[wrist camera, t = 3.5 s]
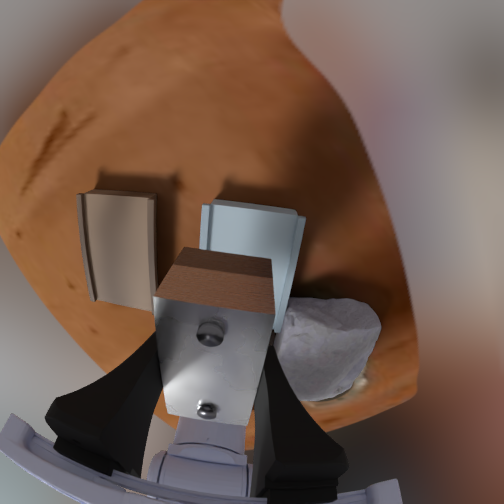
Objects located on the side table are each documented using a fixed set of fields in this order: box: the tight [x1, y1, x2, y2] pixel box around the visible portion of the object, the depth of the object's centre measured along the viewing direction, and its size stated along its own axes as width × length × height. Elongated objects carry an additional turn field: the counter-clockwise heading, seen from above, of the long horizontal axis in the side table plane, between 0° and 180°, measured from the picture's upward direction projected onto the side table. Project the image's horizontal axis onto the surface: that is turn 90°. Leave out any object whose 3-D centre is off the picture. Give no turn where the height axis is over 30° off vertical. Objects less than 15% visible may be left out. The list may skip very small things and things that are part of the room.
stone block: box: [273, 297, 381, 401], centre depth 24 cm, size 12×5×10 cm
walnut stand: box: [76, 189, 158, 315], centre depth 21 cm, size 7×10×2 cm
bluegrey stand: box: [199, 199, 306, 333], centre depth 21 cm, size 7×10×2 cm
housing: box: [153, 247, 276, 426], centre depth 13 cm, size 8×4×5 cm, turn 172°
